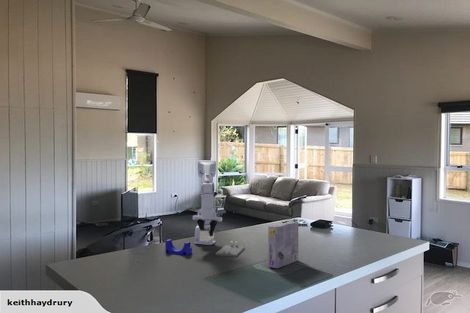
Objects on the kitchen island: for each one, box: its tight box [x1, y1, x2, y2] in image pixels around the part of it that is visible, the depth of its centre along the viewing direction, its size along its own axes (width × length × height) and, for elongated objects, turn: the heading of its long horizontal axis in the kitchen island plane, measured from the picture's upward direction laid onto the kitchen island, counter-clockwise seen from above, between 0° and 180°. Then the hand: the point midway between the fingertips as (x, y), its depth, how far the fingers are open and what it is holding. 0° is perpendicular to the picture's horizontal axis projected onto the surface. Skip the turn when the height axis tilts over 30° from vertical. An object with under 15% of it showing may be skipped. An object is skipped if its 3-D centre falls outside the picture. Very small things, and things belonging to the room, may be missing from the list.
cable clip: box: [165, 238, 193, 257], centre depth 196 cm, size 12×4×6 cm, turn 65°
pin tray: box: [215, 240, 246, 258], centre depth 199 cm, size 10×16×4 cm, turn 164°
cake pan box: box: [267, 221, 299, 270], centre depth 180 cm, size 19×5×18 cm, turn 141°
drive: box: [200, 227, 215, 242], centre depth 199 cm, size 4×9×5 cm, turn 164°
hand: (207, 235), depth 199 cm, fingers closed on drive, 4 cm apart
